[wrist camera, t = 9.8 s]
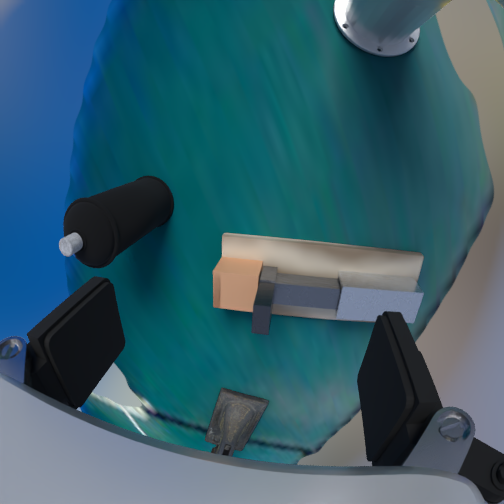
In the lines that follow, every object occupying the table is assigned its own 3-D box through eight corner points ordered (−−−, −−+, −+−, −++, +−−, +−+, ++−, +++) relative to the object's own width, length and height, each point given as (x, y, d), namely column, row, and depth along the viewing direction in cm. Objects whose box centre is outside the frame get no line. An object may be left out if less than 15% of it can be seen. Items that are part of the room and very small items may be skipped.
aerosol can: (155, 165, 42) (66, 191, 23) (184, 211, 44) (110, 265, 25) (119, 193, 44) (30, 233, 26) (145, 236, 46) (68, 295, 28)
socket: (221, 256, 44) (213, 271, 39) (262, 260, 43) (258, 276, 39) (221, 290, 46) (213, 307, 41) (260, 294, 45) (256, 312, 41)
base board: (224, 232, 44) (222, 235, 43) (420, 252, 41) (424, 256, 39) (223, 302, 49) (221, 307, 47) (401, 318, 45) (403, 323, 44)
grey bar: (242, 263, 44) (227, 300, 34) (356, 274, 42) (370, 313, 32) (241, 290, 45) (227, 330, 36) (350, 300, 43) (361, 343, 34)
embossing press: (202, 435, 65) (168, 533, 38) (223, 382, 56) (180, 514, 28) (242, 447, 65) (219, 547, 37) (275, 398, 56) (254, 532, 28)
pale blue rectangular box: (338, 270, 42) (342, 286, 37) (412, 277, 41) (423, 293, 36) (333, 300, 44) (336, 318, 39) (404, 305, 42) (413, 323, 38)
